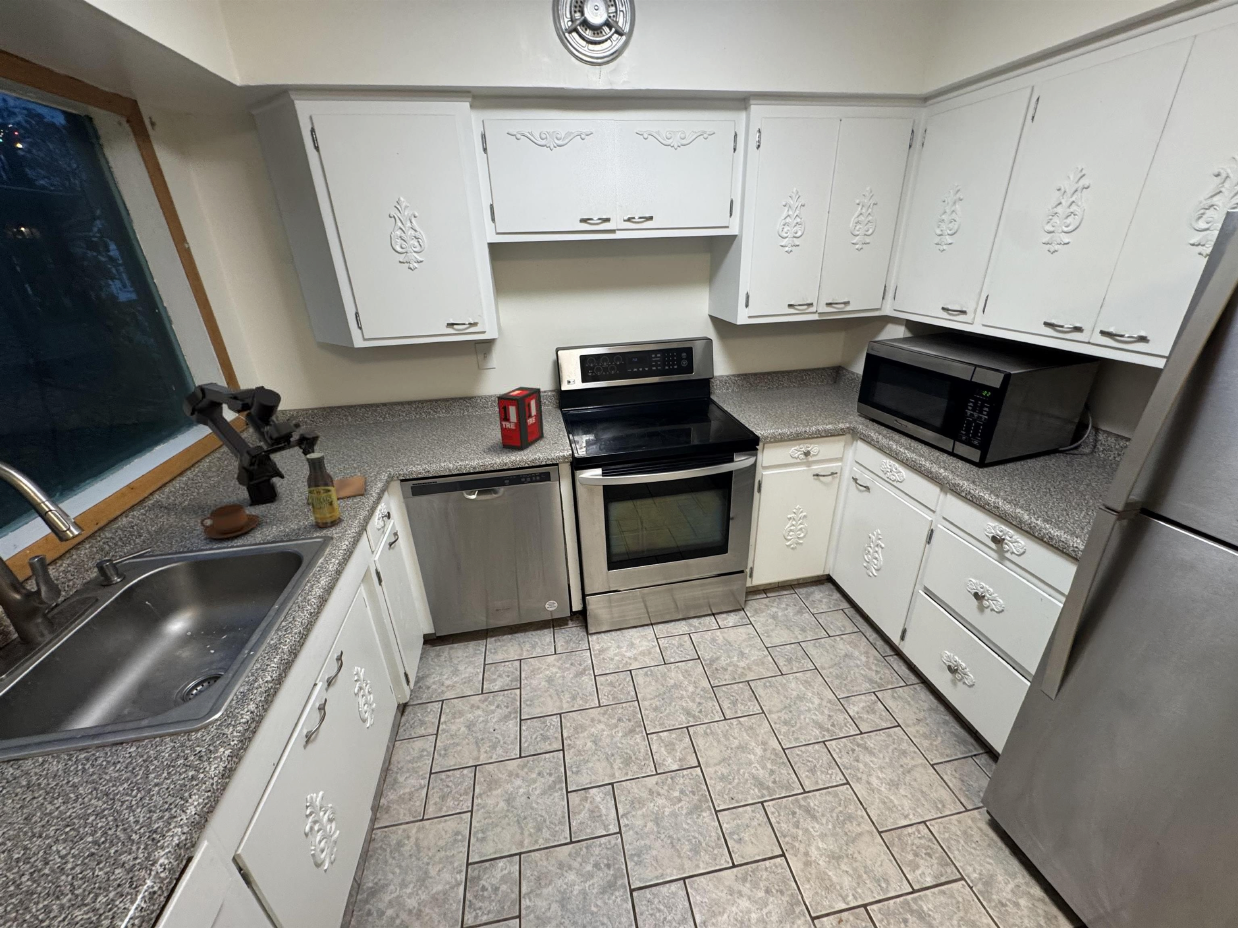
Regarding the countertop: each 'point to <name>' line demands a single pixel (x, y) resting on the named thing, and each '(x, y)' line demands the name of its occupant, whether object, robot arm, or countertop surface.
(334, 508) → the sauce bottle
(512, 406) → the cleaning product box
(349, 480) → the cork mat
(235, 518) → the cup and saucer
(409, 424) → the countertop surface
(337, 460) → the countertop surface
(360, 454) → the countertop surface
